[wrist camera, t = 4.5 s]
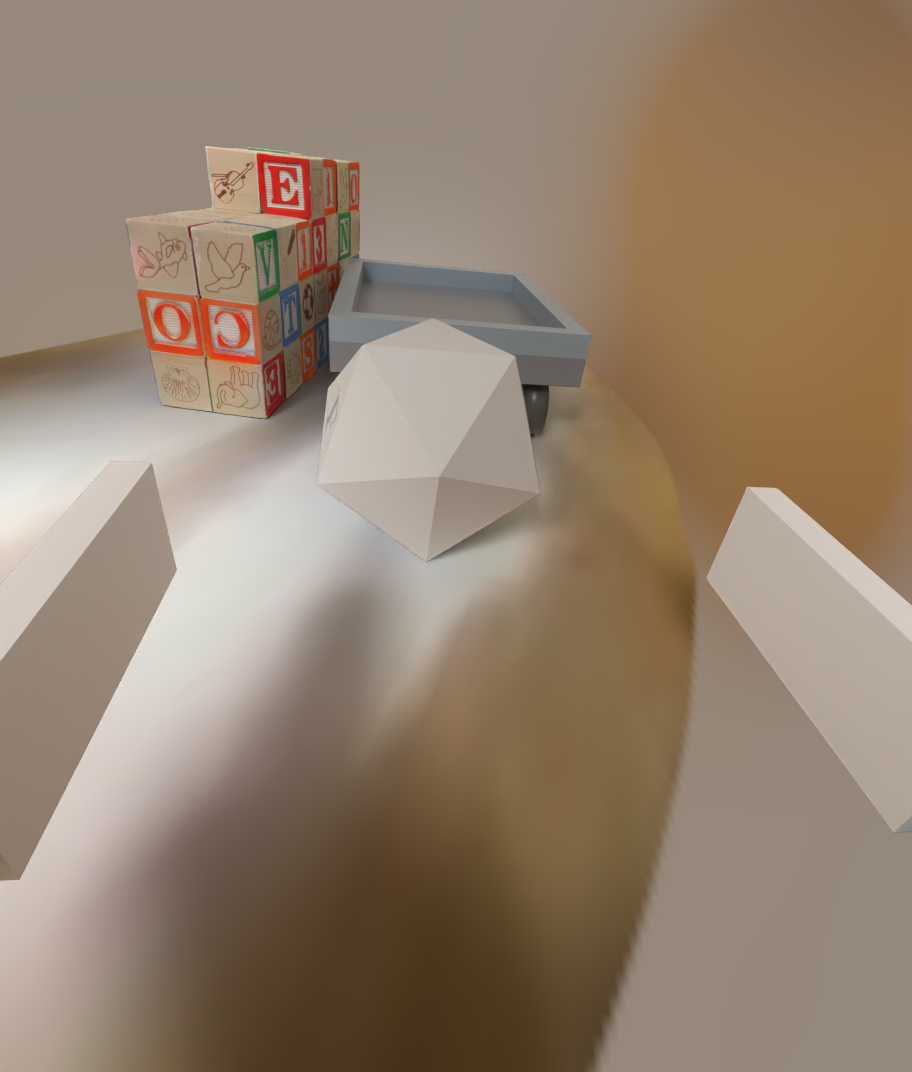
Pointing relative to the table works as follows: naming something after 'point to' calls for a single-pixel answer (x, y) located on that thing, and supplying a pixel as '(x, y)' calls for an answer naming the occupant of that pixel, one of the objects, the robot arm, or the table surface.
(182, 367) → the stack of blocks
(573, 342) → the trolley
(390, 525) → the die
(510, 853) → the table surface
